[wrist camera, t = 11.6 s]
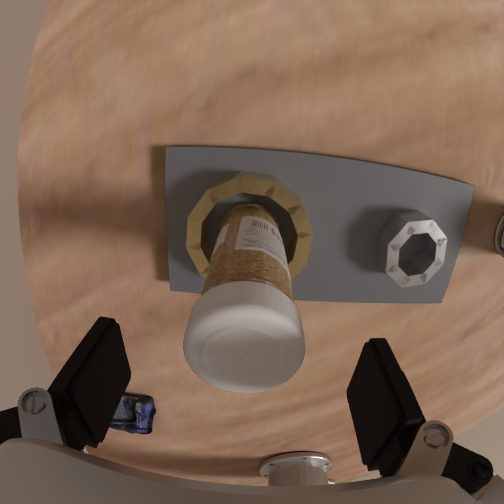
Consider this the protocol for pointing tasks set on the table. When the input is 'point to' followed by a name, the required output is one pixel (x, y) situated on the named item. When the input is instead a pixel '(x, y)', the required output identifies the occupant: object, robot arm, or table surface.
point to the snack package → (134, 415)
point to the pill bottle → (500, 237)
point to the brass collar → (251, 184)
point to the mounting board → (320, 217)
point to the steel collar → (397, 235)
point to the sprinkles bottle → (246, 308)
